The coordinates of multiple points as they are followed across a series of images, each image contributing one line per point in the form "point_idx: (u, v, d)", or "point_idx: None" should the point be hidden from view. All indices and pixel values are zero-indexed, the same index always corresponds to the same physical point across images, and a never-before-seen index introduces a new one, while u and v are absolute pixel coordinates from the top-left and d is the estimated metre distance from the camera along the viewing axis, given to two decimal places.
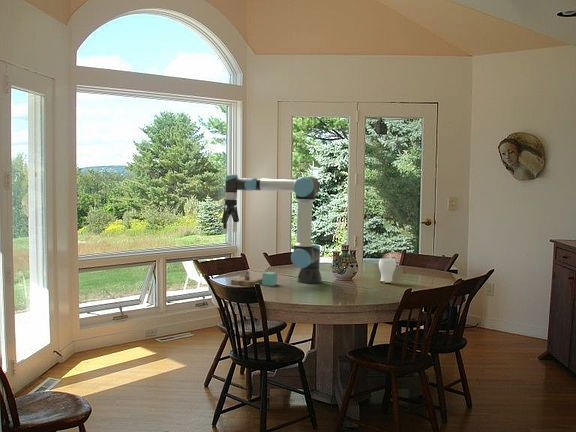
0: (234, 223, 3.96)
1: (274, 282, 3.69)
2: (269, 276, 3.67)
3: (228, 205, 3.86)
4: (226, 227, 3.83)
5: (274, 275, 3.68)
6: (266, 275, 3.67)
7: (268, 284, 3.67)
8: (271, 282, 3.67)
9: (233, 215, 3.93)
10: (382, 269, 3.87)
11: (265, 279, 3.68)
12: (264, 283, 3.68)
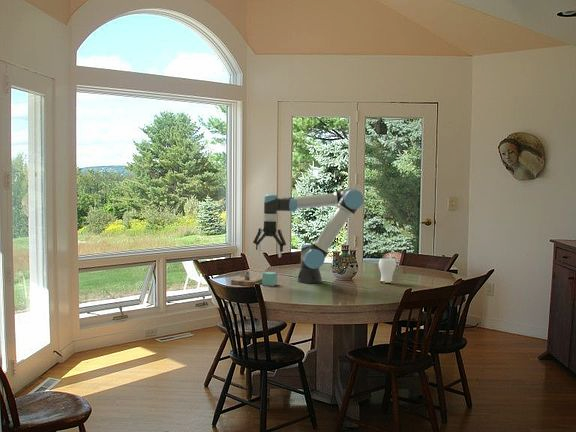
0: None
1: (274, 282, 3.69)
2: (269, 276, 3.67)
3: None
4: (257, 248, 3.72)
5: (274, 275, 3.68)
6: (266, 275, 3.67)
7: (268, 284, 3.67)
8: (271, 282, 3.67)
9: None
10: (382, 269, 3.87)
11: (265, 279, 3.68)
12: (264, 283, 3.68)
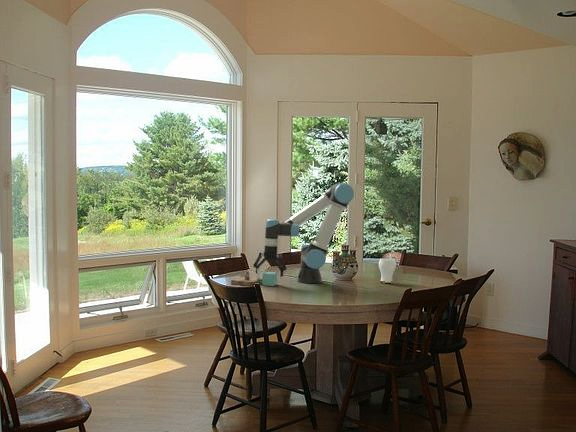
0: None
1: (274, 282, 3.69)
2: (269, 276, 3.67)
3: None
4: (257, 272, 3.72)
5: (274, 275, 3.68)
6: (266, 275, 3.67)
7: (268, 284, 3.67)
8: (271, 282, 3.67)
9: None
10: (382, 269, 3.87)
11: (265, 279, 3.68)
12: (264, 283, 3.68)
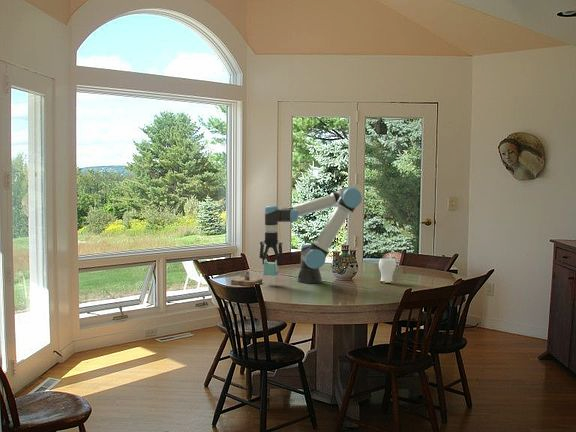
0: None
1: (275, 272, 3.68)
2: (270, 266, 3.67)
3: None
4: None
5: None
6: (267, 265, 3.67)
7: (270, 274, 3.67)
8: (272, 272, 3.66)
9: None
10: (382, 269, 3.87)
11: (266, 269, 3.68)
12: (265, 273, 3.68)
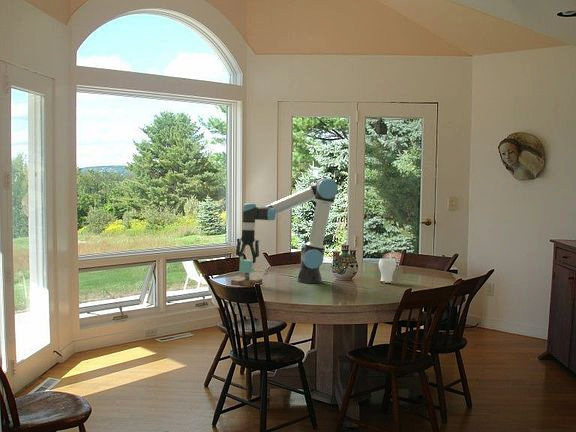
0: None
1: (251, 269, 3.69)
2: (246, 263, 3.67)
3: None
4: None
5: None
6: (243, 262, 3.68)
7: (245, 271, 3.68)
8: (248, 269, 3.67)
9: None
10: (382, 269, 3.87)
11: (242, 266, 3.68)
12: (241, 270, 3.68)
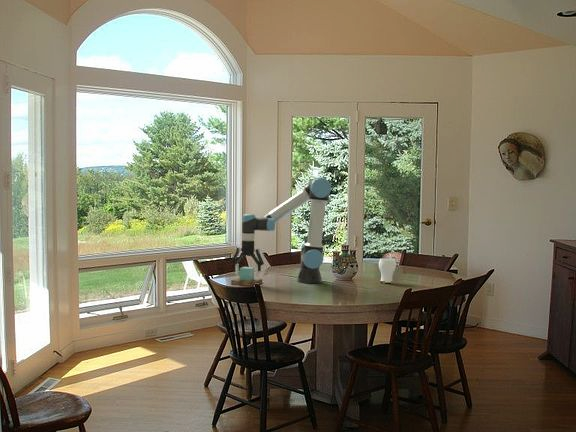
0: None
1: (251, 277, 3.69)
2: (246, 271, 3.67)
3: None
4: (235, 268, 3.72)
5: (251, 270, 3.69)
6: (243, 270, 3.68)
7: (245, 279, 3.68)
8: (248, 277, 3.67)
9: None
10: (382, 269, 3.87)
11: (242, 274, 3.68)
12: (241, 278, 3.69)
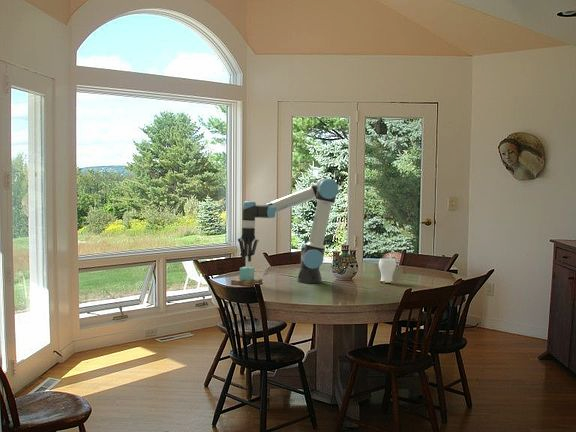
0: None
1: (251, 277, 3.69)
2: (246, 271, 3.67)
3: None
4: (245, 260, 3.70)
5: (251, 270, 3.69)
6: (243, 270, 3.68)
7: (245, 279, 3.68)
8: (248, 277, 3.67)
9: None
10: (382, 269, 3.87)
11: (242, 274, 3.68)
12: (241, 278, 3.69)
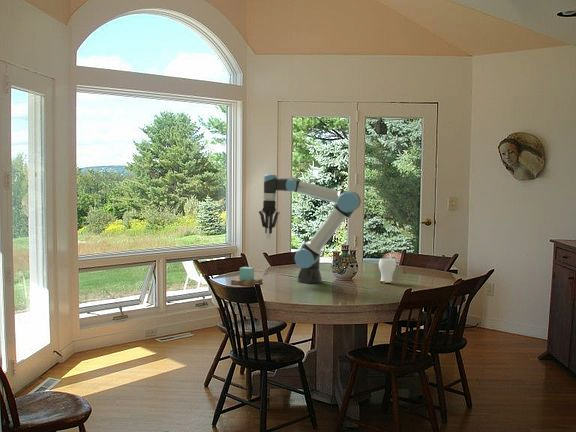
0: None
1: (251, 277, 3.69)
2: (246, 271, 3.67)
3: None
4: (266, 232, 3.77)
5: (251, 270, 3.69)
6: (243, 270, 3.68)
7: (245, 279, 3.68)
8: (248, 277, 3.67)
9: None
10: (382, 269, 3.87)
11: (242, 274, 3.68)
12: (241, 278, 3.69)
